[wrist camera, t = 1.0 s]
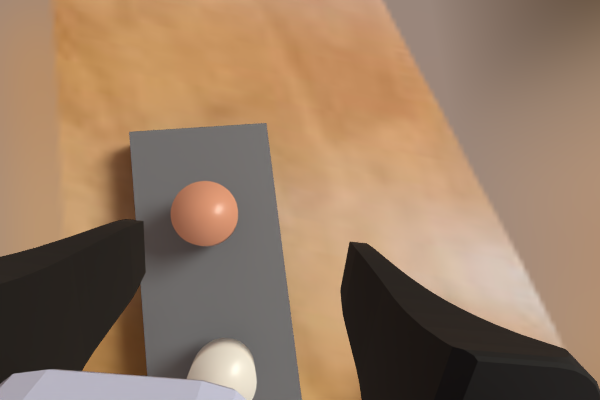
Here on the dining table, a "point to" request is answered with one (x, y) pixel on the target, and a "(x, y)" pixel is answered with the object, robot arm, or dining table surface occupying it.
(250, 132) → the control board
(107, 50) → the dining table surface
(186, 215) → the knob
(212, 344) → the knob
